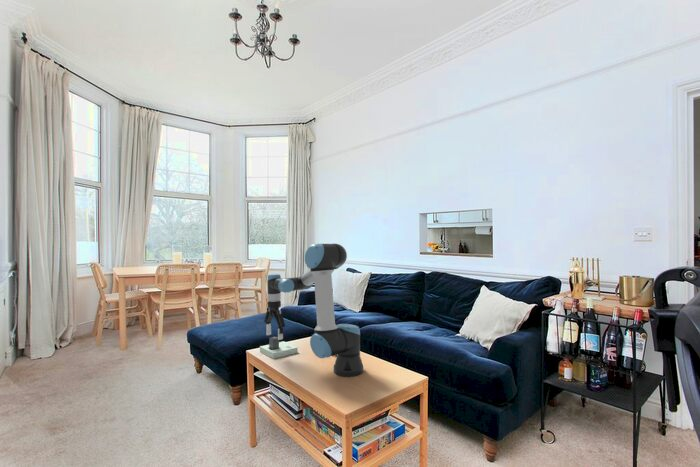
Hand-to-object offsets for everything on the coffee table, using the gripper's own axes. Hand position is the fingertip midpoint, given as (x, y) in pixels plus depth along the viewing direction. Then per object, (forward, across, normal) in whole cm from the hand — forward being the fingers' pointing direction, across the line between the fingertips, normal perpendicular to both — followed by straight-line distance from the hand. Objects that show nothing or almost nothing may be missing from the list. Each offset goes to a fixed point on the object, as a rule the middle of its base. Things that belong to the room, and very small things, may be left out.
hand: (274, 337), depth 206 cm
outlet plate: (+9, +1, -3) cm, 10 cm away
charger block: (+9, +1, 0) cm, 9 cm away
